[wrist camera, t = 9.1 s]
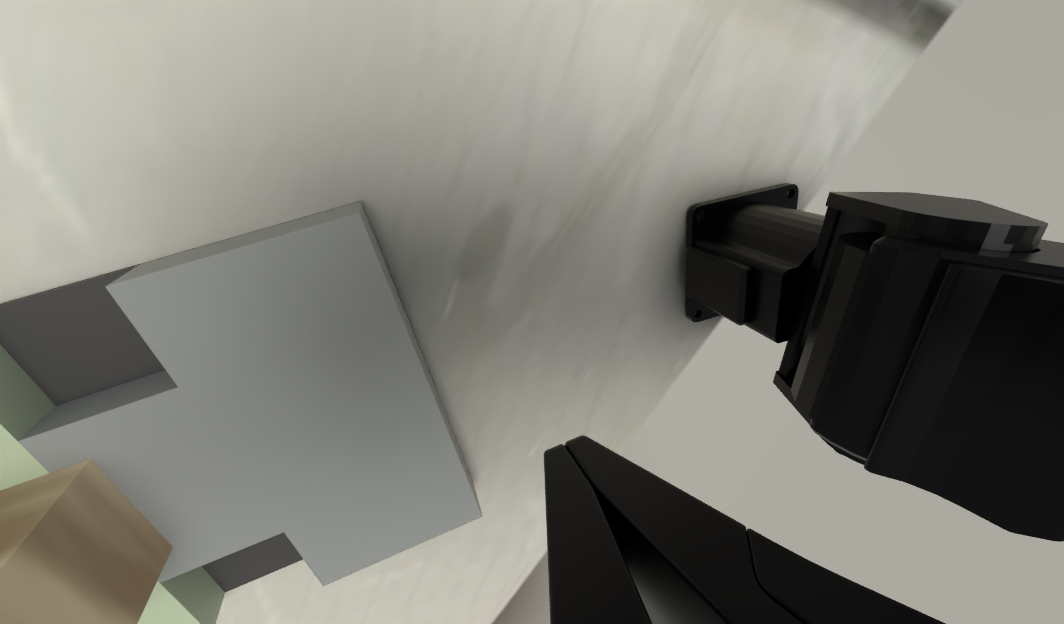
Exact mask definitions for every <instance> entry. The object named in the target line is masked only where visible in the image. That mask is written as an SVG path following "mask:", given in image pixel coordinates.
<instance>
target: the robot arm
mask: <svg viewBox="0 0 1064 624" xmlns="http://www.w3.org/2000/svg"><path fill="white" fill-rule="evenodd" d="M788 191H789V193H788ZM787 193H788V195H787ZM797 201H798V187H797V186H796V185H795V184H789V183H785V184H781V185H777V186H773V187H768V188H764V189H760V190H755V191H751V192H747V193H742V194H738V195H734V196H730V197H725V198H721V199H717V200H712V201H708V202H704V203H700V204H696V205H694V206H692V207H691V208H690V209H689V211H688V215H687V251H686V289H685V293H686V317H687V318H688V319H690V320H691V321H693V322H700V321H703V320H706V319H710V318H713V317H716V316H720V315H722V316H724V317H725V318H727V319H729V320H731V321H732V322H734V323H736V324H738V325H746V326H748V327H749V328H751V329H753V330H755V331H757V332H758V333H760V334H762V335H764V336H765V337H767V338H769V339H771V340H773V341H774V342H776V343H781V342H784V341H788V342H787V345H786V348H785V352H784V355H783V358H782V362H781V365H780V368H779V371H776V374H775V377H774V380H773V383H774V384H775V385H776V386H777V388H778V389H779V390H780V391H781V392H782V393H783V395H784V396H785V397H786V398H787V399H788V400H789V401H790V403H791V404H792V405H793V406H794V407H795V408H796V409H797V411H798V412H799V413H800V414H801V415H802V416H803V418H805V420H806V421H807V422H808V423H809V425H810V427H811V428H812V429H813V431H814V432H815V433H816V434H817V435H819V436H820V437H821V438H822V439H823V440H824V441H825V442H826V443H827V444H828V445H829V446H831V447H832V448H833V449H834V450H835V451H836V452H838V453H839V454H842V455H844V456H846V457H848V458H850V459H852V460H854V461H856V462H858V463H861V464H863V465H864V468H865V469H866V470H867V471H869V472H871V473H874V474H877V475H881V476H885V477H888V478H892V479H896V480H899V481H903V482H906V483H908V484H911V485H914V486H916V487H919V488H921V489H924V490H926V491H929V492H931V493H934V494H936V495H938V496H941V497H942V498H944V499H947V500H949V501H951V502H953V503H955V504H957V505H959V506H961V507H963V508H965V509H967V510H968V511H970V512H972V513H974V514H976V515H978V516H980V517H982V518H984V519H986V520H988V521H990V522H991V523H993V524H995V525H997V526H999V527H1001V528H1003V529H1005V530H1007V531H1009V532H1013V533H1016V534H1022V535H1026V536H1031V537H1036V538H1041V539H1046V540H1051V541H1064V243H1060V242H1053V241H1047V240H1041V238H1042V236H1043V234H1044V232H1045V230H1046V228H1047V226H1048V223H1046V222H1043V221H1039V220H1037V219H1034V218H1031V217H1028V216H1025V215H1021V214H1018V213H1015V212H1011V211H1009V210H1006V209H1003V208H999V207H996V206H993V205H990V204H987V203H984V202H981V201H976V200H970V199H961V198H953V197H944V196H936V195H927V194H919V193H902V192H896V193H895V192H889V193H888V192H830V193H829V196H828V199H827V202H826V206H828V208H827V212H826V215H825V216H823V215H818V214H813V213H809V212H805V211H800V210H796V209H797ZM699 211H700V216H699V217H698V218H697V217H696V216H697V214H698V212H699ZM696 311H697V313H696V314H695V312H696ZM694 314H695V315H694ZM544 471H545V496H546V522H547V547H548V571H549V572H548V573H549V598H550V622H551V623H550V624H945V623H943V622H941V621H939V620H936V619H934V618H932V617H930V616H928V615H926V614H923V613H921V612H919V611H917V610H914V609H912V608H910V607H908V606H906V605H904V604H901V603H899V602H897V601H895V600H892V599H890V598H888V597H886V596H884V595H881V594H879V593H877V592H875V591H873V590H870V589H868V588H866V587H864V586H861V585H859V584H857V583H855V582H853V581H851V580H849V579H846V578H844V577H842V576H840V575H838V574H836V573H834V572H832V571H829V570H828V569H825V568H823V567H821V566H819V565H817V564H815V563H813V562H811V561H809V560H807V559H805V558H803V557H801V556H799V555H797V554H796V553H794V552H792V551H790V550H788V549H786V548H784V547H782V546H781V545H779V544H777V543H775V542H773V541H771V540H769V539H768V538H766V537H764V536H762V535H761V534H759V533H757V532H755V531H753V530H751V529H747V531H746V527H745V526H744V525H742V524H741V523H739V522H737V521H736V520H734V519H732V518H730V517H728V516H727V515H725V514H723V513H721V512H720V511H718V510H716V509H714V508H712V507H711V506H709V505H707V504H705V503H703V502H702V501H700V500H698V499H696V498H695V497H693V496H691V495H689V494H688V493H686V492H684V491H682V490H681V489H679V488H677V487H675V486H673V485H671V484H670V483H668V482H666V481H664V480H663V479H661V478H659V477H657V476H656V475H654V474H652V473H650V472H649V471H647V470H645V469H643V468H642V467H640V466H638V465H636V464H634V463H632V462H631V461H629V460H627V459H625V458H624V457H622V456H620V455H618V454H617V453H615V452H613V451H611V450H610V449H608V448H606V447H604V446H602V445H601V444H599V443H597V442H595V441H594V440H592V439H590V438H588V437H586V436H583V435H582V436H579V437H576V438H574V439H572V440H569V441H567V442H566V443H565V446H564V445H563V444H560V445H558V446H555V447H553V448H551V449H548V450H546V451H545V452H544Z"/></svg>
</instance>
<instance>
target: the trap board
mask: <svg viewBox="0 0 1064 624" xmlns="http://www.w3.org/2000/svg"><path fill="white" fill-rule="evenodd" d="M88 459H91V460H92V461H93V462H94V463H95V464H96V465H97V466H98V467H99V468H100V469H101V470H102V471H103V472H104V474H105V475H106V476H107V477H108V478H109V479H110V480H111V481H112V482H113V483H114V484H115V485H116V486H117V488H118V489H119V490H120V491H121V492H122V493H123V494H124V495H125V496H126V497H127V498H128V499H129V500H130V502H131V503H132V504H133V505H134V506H135V507H136V508H137V509H138V510H139V511H140V512H141V513H142V514H143V516H144V517H145V518H146V519H147V520H148V521H149V522H150V523H151V524H152V525H153V526H154V527H155V528H156V530H157V531H158V532H159V533H160V534H161V535H162V536H163V537H164V538H165V539H166V540H167V541H168V542H169V544H170V545H171V546H172V547H173V548H172V550H171V552H170V554H169V556H168V559H167V561H166V563H165V565H164V567H163V569H162V572H161V574H160V576H159V578H158V580H157V582H156V585H155V587H154V589H153V591H152V593H151V596H150V598H149V600H148V602H147V604H146V606H145V609H144V611H143V613H142V615H141V617H140V619H139V622H138V624H215V623H216V620H217V617H218V614H219V610H220V607H221V604H222V601H223V597H224V594H225V592H227V591H229V590H232V589H234V588H237V587H239V586H241V585H244V584H246V583H248V582H251V581H253V580H255V579H258V578H260V577H262V576H265V575H267V574H270V573H272V572H274V571H277V570H279V569H281V568H284V567H286V566H288V565H291V564H293V563H295V562H298V561H300V560H303V559H304V560H305V562H306V563H307V565H308V566H309V567H310V569H311V570H312V571H313V573H314V574H315V576H316V577H317V578H318V580H319V581H320V582H321V584H322V585H323V586H325V585H327V584H329V583H332V582H334V581H336V580H338V579H341V578H343V577H345V576H348V575H350V574H352V573H354V572H357V571H359V570H361V569H363V568H366V567H368V566H370V565H373V564H375V563H377V562H379V561H382V560H384V559H386V558H389V557H391V556H393V555H395V554H398V553H400V552H402V551H404V550H407V549H409V548H411V547H414V546H416V545H418V544H420V543H423V542H425V541H427V540H430V539H432V538H434V537H436V536H439V535H441V534H443V533H446V532H448V531H450V530H452V529H455V528H457V527H459V526H461V525H464V524H466V523H468V522H471V521H473V520H475V519H477V518H480V517H482V513H481V509H480V506H479V502H478V499H477V495H476V491H475V488H474V484H473V481H472V478H471V476H470V473H469V471H468V468H467V466H466V463H465V461H464V458H463V456H462V453H461V451H460V448H459V446H458V443H457V441H456V438H455V436H454V433H453V431H452V428H451V426H450V423H449V421H448V418H447V416H446V413H445V411H444V408H443V406H442V403H441V401H440V398H439V396H438V393H437V391H436V388H435V386H434V383H433V381H432V378H431V376H430V373H429V371H428V368H427V366H426V363H425V361H424V358H423V356H422V353H421V351H420V348H419V346H418V343H417V341H416V338H415V336H414V333H413V331H412V328H411V326H410V323H409V321H408V318H407V316H406V313H405V311H404V308H403V306H402V303H401V301H400V298H399V296H398V293H397V291H396V288H395V286H394V283H393V281H392V278H391V276H390V273H389V271H388V268H387V266H386V263H385V261H384V258H383V256H382V253H381V251H380V248H379V246H378V243H377V241H376V238H375V236H374V233H373V231H372V228H371V226H370V223H369V221H368V218H367V216H366V213H365V211H364V208H363V206H362V203H361V201H359V202H355V203H352V204H348V205H345V206H341V207H338V208H334V209H331V210H327V211H324V212H320V213H317V214H313V215H310V216H306V217H303V218H299V219H296V220H292V221H289V222H285V223H282V224H278V225H275V226H271V227H268V228H264V229H261V230H257V231H254V232H250V233H247V234H243V235H240V236H236V237H233V238H229V239H226V240H222V241H219V242H215V243H212V244H208V245H205V246H201V247H198V248H194V249H191V250H187V251H184V252H180V253H177V254H173V255H170V256H166V257H163V258H159V259H156V260H152V261H149V262H145V263H142V264H138V265H135V266H131V267H128V268H124V269H121V270H117V271H114V272H110V273H107V274H103V275H100V276H96V277H93V278H89V279H86V280H82V281H79V282H75V283H72V284H68V285H65V286H61V287H58V288H54V289H51V290H47V291H44V292H40V293H37V294H33V295H30V296H26V297H23V298H19V299H16V300H12V301H9V302H5V303H2V304H0V491H1V490H4V489H7V488H9V487H12V486H15V485H18V484H21V483H23V482H26V481H29V480H32V479H35V478H38V477H40V476H43V475H46V474H49V473H52V472H54V471H57V470H60V469H63V468H66V467H69V466H71V465H74V464H77V463H80V462H83V461H85V460H88Z"/></svg>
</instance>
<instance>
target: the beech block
mask: <svg viewBox="0 0 1064 624" xmlns="http://www.w3.org/2000/svg"><path fill="white" fill-rule="evenodd" d="M172 548H173V547H172V546H171V545H170V544H169V542H168V541H167V540H166V539H165V538H164V537H163V536H162V535H161V534H160V533H159V532H158V531H157V530H156V528H155V527H154V526H153V525H152V524H151V523H150V522H149V521H148V520H147V519H146V518H145V517H144V516H143V514H142V513H141V512H140V511H139V510H138V509H137V508H136V507H135V506H134V505H133V504H132V503H131V502H130V500H129V499H128V498H127V497H126V496H125V495H124V494H123V493H122V492H121V491H120V490H119V489H118V488H117V486H116V485H115V484H114V483H113V482H112V481H111V480H110V479H109V478H108V477H107V476H106V475H105V474H104V472H103V471H102V470H101V469H100V468H99V467H98V466H97V465H96V464H95V463H94V462H93V461H92V460H91V459H88V460H85V461H83V462H80V463H77V464H74V465H71V466H69V467H66V468H63V469H60V470H57V471H54V472H52V473H49V474H46V475H43V476H40V477H38V478H35V479H32V480H29V481H26V482H23V483H21V484H18V485H15V486H12V487H9V488H7V489H4V490H1V491H0V624H138V622H139V619H140V617H141V615H142V613H143V611H144V609H145V606H146V604H147V602H148V600H149V598H150V596H151V593H152V591H153V589H154V587H155V585H156V582H157V580H158V578H159V576H160V574H161V572H162V569H163V567H164V565H165V563H166V561H167V559H168V556H169V554H170V552H171V550H172Z"/></svg>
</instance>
